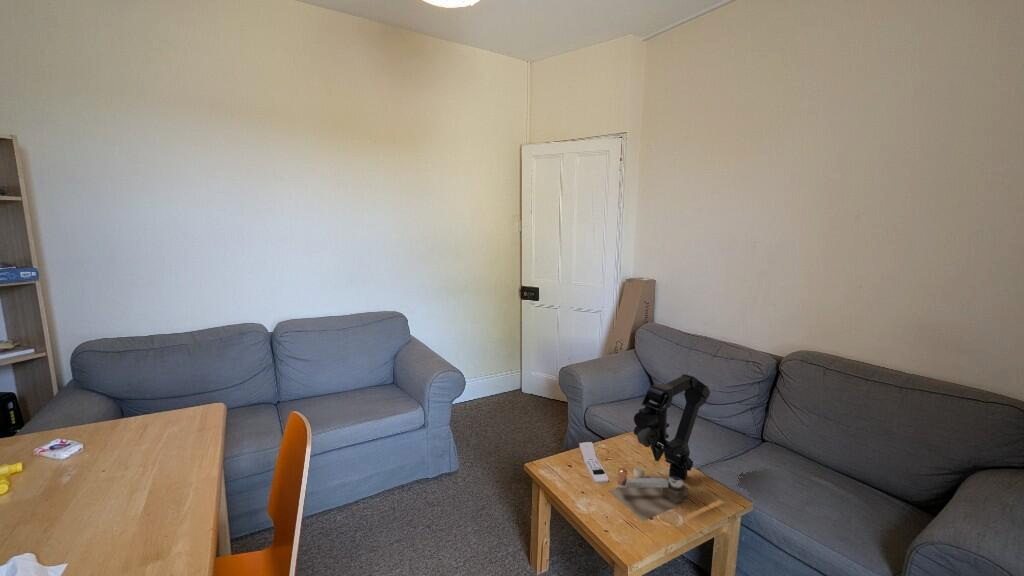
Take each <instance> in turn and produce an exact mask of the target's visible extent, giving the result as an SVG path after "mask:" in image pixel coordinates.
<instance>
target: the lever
mask: <svg viewBox="0 0 1024 576" xmlns="http://www.w3.org/2000/svg"><path fill="white" fill-rule="evenodd" d="M627 471H628V470H627V469H626V468H625V467H619V468H617V484H618V487H619V486H620V488H650V487H668V486H669V487H671V488H672V489H676V490H680V489H682V488H683V485H684V480H682V479H681V478H679V477H677V476H670V477H669V476H668V477H667V478H668V479H667V478H666V477H662V478H661V477H657V478H633V477H631V478H628V476H627V475H628V472H627Z"/></svg>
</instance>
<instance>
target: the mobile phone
mask: <svg viewBox="0 0 1024 576" xmlns="http://www.w3.org/2000/svg"><path fill="white" fill-rule="evenodd" d="M579 448H580V451H581V454H582V458H583V461H584V466H585V467H586V468H587V470H588V472H589V474H590V476H591V478H592V480H593V482H594V483H595V484H604V483H608V482H609V481H610V479H609V477H608V474H607V473H606V471H605V469H604V467H603V466H602V464H601V462H600V461H599V459H598V458H597V456H596V452H595V447H594V443H593V442H592V441H586V442H585V441H584V442H579Z"/></svg>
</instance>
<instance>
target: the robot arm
mask: <svg viewBox="0 0 1024 576" xmlns="http://www.w3.org/2000/svg"><path fill="white" fill-rule="evenodd" d="M682 392H684V399H685V404H684V408H683V411H682V413H681V414H682V415H681V418H680V420H679V424H678V427H677V430H676V433H675V435H674V438H672V440H670V439H669V438H670V437H669V435H670V434H668V433H667V428H669V427H670V424H669V423H668V421H667V420H668V408H671V402H672V401H673V398H674V397H675V396H676V395H678V394H681V393H682ZM710 394H711V391H710V389H709V387H708V385H706V384H704V383H703V382H701V381H700V380H698V378H697V377H695V376H693V375H689V374H688V373H683V374H681V376H679V377H678V378H676V379H673V380H671V381H669V382H667V383H664V384H661V383H660V384H659V383H657V384H652V385H651V386H650V387H649V388H648V389H647V391H646V394H645V396H644V398H643V399H642V403H641V405H642V406H644V407H643V408H640V409H638V412H636V413H635V414H634V416H633V422H634V424H635V427H634V428H633V434H634V435H635V436H636V438H637V442H638V443H639V444H641V445H642V446H644V447H645V448H649V447H650V449H651V452H652V455H653V458H654V461H655V462H659V461H660V460H661V458H662V457H663V456H664V458H665V459H664V460H665V462H666V463H669V470H668V471H669V472H668V473H669V475H668V478H669V477H670V476H677V477H679V478H681V479H682V480H683V481H685V480H686V479H687V477H688V471H689V472H690V471H692V468H693V466H694V461H693V460H692V459H691V458H690V452H691V451H690V447H689V440H690V437H691V434H692V431H693V429H694V426H695V425H694V424H695V423H696V420H697V416H698V413H699V409H700V408H701V407H702V406H703V405H705V404H706V403H707V400H708V398H709V397H710ZM650 401H651V402H650Z"/></svg>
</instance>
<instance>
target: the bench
mask: <svg viewBox="0 0 1024 576" xmlns="http://www.w3.org/2000/svg"><path fill="white" fill-rule="evenodd" d="M644 478H658V476H656V475H655V474H653V473H650V474H648V475H645V476H644ZM607 491H608V493H610V494H611V495H612V496H613V497H614V498H616V499H617V500H618V501H619V502H620V503H622V505H624V506H625V507H626V508H627V509H629V510H630V511H631V512H632V513H633V514H635V515H636V516H637V517H638V518H640V520H642V521H643V522H645V521H647V520H650V519H651V518H654V517H656V516H658V515H660V514H662V513H665V512H667V511H668V510H671V509H673V508H675V507H679V505H680V506H681V505H682V504H685V503H687V502H688V501H690V499H689V498H688V497H689V495H688V493H689V487H688V486H686V485H684V484H683V488H682V489H680V490H676V489H672V488H671V487H669V486H668V487H650V488H620V486H619V485H618V486H617V487H614V488H612V489H609V490H607Z"/></svg>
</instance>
